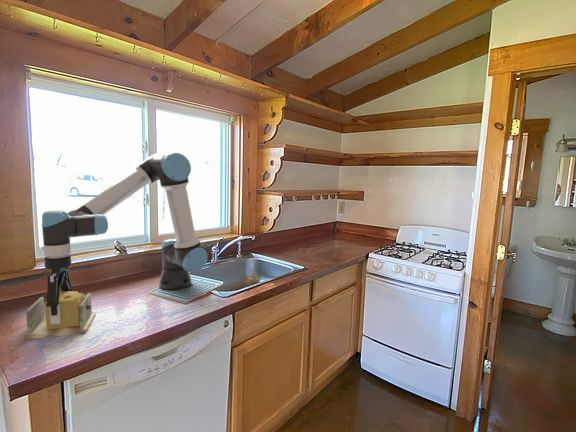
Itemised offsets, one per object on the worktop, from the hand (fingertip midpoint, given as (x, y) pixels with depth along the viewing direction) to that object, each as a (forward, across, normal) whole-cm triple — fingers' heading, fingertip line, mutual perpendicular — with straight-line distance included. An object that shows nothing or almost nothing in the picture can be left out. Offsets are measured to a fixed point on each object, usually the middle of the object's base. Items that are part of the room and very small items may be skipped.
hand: (61, 316), depth 116 cm
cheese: (+3, 0, +2) cm, 3 cm away
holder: (+4, 0, 0) cm, 4 cm away
